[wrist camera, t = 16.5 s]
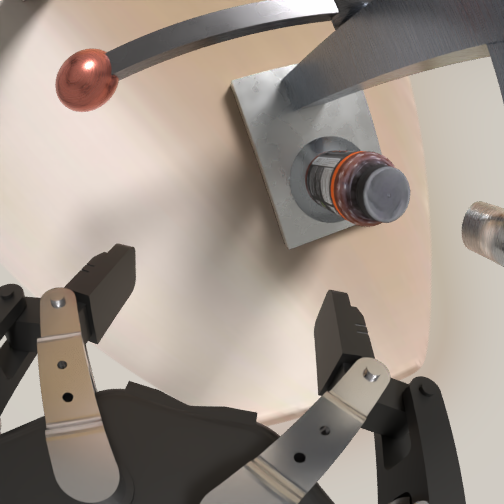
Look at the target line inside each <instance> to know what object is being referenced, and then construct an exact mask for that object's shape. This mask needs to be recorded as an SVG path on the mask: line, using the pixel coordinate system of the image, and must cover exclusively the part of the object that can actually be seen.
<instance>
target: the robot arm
mask: <svg viewBox="0 0 504 504" xmlns="http://www.w3.org/2000/svg"><path fill="white" fill-rule="evenodd" d="M22 1H25V0H22ZM135 281H136V270H135V248H134V247H131V246H127V245H122V244H116V245H115V246H114V247H113V248H112V249H111V250H110V251H109V252H108V253H106V252H103V253H101V254H99V255H97V256H95V257H93V258H92V259H91V260H90V261H89V262H88V263H87V265H85V266H84V267H83V268H82V271H81V270H80V271H79V272H78V273H77V275H76V276H75V277H74V278H73V279H72V280H71V281H70V282H69V283H68V284H67V285H66V286H65V287H64V288H54V289H51V290H49V291H47V292H46V293H44V294H43V295H42V297H41V298H34V297H25V296H24V292H23V289H22V288H21V287H20V286H19V285H16V284H7V285H4V286H1V287H0V340H1V339H2V337H3V336H4V335H5V336H6V338H7V340H6V341H5V343H4V344H3V345H2V347H1V348H0V416H1V414H2V412H3V410H4V408H5V406H6V405H7V403H8V401H9V399H10V398H11V396H12V394H13V392H14V390H15V389H16V387H17V386H18V384H19V382H20V380H21V379H22V377H23V376H24V374H25V372H26V371H27V369H28V367H29V366H30V364H31V363H32V361H33V360H34V358H35V356H36V355H37V353H38V364H39V365H38V366H39V377H40V386H41V394H42V401H43V408H44V415H45V416H43V417H41V418H38V419H36V420H34V421H31V422H29V423H27V424H24V425H22V426H20V427H17V428H15V429H13V430H10V431H8V432H6V433H3V434H1V432H0V504H334V502H333V501H332V500H331V499H330V498H329V496H328V495H327V494H326V493H325V491H324V490H323V489H322V488H321V487H320V486H319V484H318V483H317V481H318V480H319V479H320V478H321V477H322V475H323V474H324V473H325V472H326V471H327V470H328V469H329V467H330V466H331V465H332V464H333V463H334V461H335V460H336V459H337V458H338V456H339V455H340V454H341V453H342V451H343V450H344V449H345V448H346V446H347V445H348V444H349V442H350V441H351V440H352V438H353V437H354V436H355V434H356V433H357V432H358V430H359V429H360V428H363V429H366V430H368V431H371V432H374V438H375V450H376V464H377V465H376V466H377V486H378V504H466V502H465V495H464V488H463V482H462V477H461V472H460V466H459V461H458V457H457V452H456V447H455V443H454V439H453V435H452V430H451V427H450V423H449V419H448V415H447V412H446V408H445V404H444V401H443V398H442V395H441V391H440V389H439V387H438V386H437V385H436V384H435V382H433V381H432V380H430V379H429V378H426V377H416V378H414V379H413V380H412V381H411V382H410V383H409V384H406V383H404V382H401V381H398V380H395V379H393V378H390V373H389V370H388V369H387V367H386V366H385V365H384V364H383V363H381V362H380V361H378V360H376V359H375V357H374V353H373V350H372V346H371V342H370V338H369V335H368V331H367V327H366V324H365V320H364V317H363V315H362V314H361V312H360V311H359V310H358V309H357V307H352V306H351V305H350V301H349V297H348V294H347V293H344V292H339V291H334V290H329V291H328V292H327V294H326V297H325V299H324V302H323V304H322V307H321V309H320V312H319V314H318V317H317V319H316V322H315V328H314V338H315V351H316V365H317V380H318V395H320V396H321V397H320V398H319V399H318V401H317V402H316V403H315V404H314V405H313V406H312V407H311V408H310V409H309V410H308V411H307V412H306V413H305V414H304V415H303V416H302V417H301V418H300V419H299V420H297V422H295V423H294V424H293V425H292V426H291V427H290V428H289V429H288V430H287V431H286V432H285V433H284V434H283V435H282V436H281V437H280V436H279V435H278V434H277V433H276V432H274V431H273V430H271V429H270V428H268V427H266V426H264V425H263V424H261V423H258V422H256V419H257V413H256V412H250V411H245V410H239V409H234V408H229V407H207V406H189V405H186V404H184V403H182V402H180V401H178V400H176V399H174V398H173V397H171V396H169V395H167V394H165V393H163V392H161V391H159V390H157V389H153V388H150V387H147V386H143V385H140V384H137V383H134V382H130V381H129V382H128V384H127V386H126V389H108V390H103V391H99V392H97V389H96V385H95V381H94V378H93V374H92V370H91V365H90V361H89V357H88V352H87V348H86V343H87V341H90V342H93V343H95V344H98V343H99V342H100V340H101V338H102V337H103V335H104V334H105V332H106V331H107V329H108V328H109V326H110V325H111V323H112V322H113V320H114V319H115V317H116V315H117V314H118V312H119V311H120V310H121V308H122V307H123V305H124V304H125V302H126V301H127V299H128V298H129V296H130V295H131V293H132V292H133V289H134V286H135ZM0 430H1V419H0Z"/></svg>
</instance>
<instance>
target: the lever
mask: <svg viewBox="0 0 504 504" xmlns="http://www.w3.org/2000/svg"><path fill="white" fill-rule="evenodd" d="M371 1H373V0H266V1H261V2H256V3H251V4H246V5H241V6H237V7H232V8H228V9H224V10H220V11H217V12H213V13H209V14H206V15H202V16H199V17H196V18H192V19H189V20H186V21H183V22H180V23H177V24H174V25H171V26H168V27H166V28H163V29H160V30H158V31H155V32H152V33H150V34H147V35H145V36H142V37H140V38H138V39H135V40H133V41H131V42H128V43H126V44H124V45H122V46H120V47H117V48H115V49H113V50H111V51H109V52H105V51H102V50H99V49H85V50H81V51H79V52H77V53H75V54H73V55H72V56H70V57H69V58H68V59H67V60H66V61H65V62H64V63H63V65H62V66H61V68H60V69H59V72H58V74H57V77H56V84H55V85H56V93H57V96H58V98H59V100H60V101H61V102H62V104H63V105H65V106H66V107H67V108H69V109H71V110H73V111H78V112H87V111H92V110H95V109H97V108H99V107H101V106H102V105H104V104H105V103H106V102H107V101H108V100H109V99H110V98H111V97H112V95H113V94H114V92H115V90H116V88H117V85H118V81H119V80H121V79H123V78H126V77H128V76H130V75H132V74H134V73H137V72H139V71H141V70H144V69H146V68H149V67H151V66H153V65H156V64H158V63H161V62H163V61H166V60H169V59H171V58H174V57H177V56H180V55H182V54H185V53H188V52H191V51H194V50H197V49H200V48H203V47H206V46H210V45H213V44H216V43H220V42H223V41H227V40H231V39H234V38H238V37H242V36H246V35H250V34H254V33H259V32H263V31H268V30H273V29H278V28H283V27H289V26H295V25H301V24H308V23H315V22H323V21H332V23H333V26H334V28H335V30H337V29H338V28H339V27H340V26H342V25H343V24H344V23H345V22H346V21H348V20H349V19H350V18H351V17H352V16H354V15H355V14H356V13H357V12H359V11H360V10H361V9H362V8H364V7H365V6H366V5H367V4H369V3H370V2H371Z"/></svg>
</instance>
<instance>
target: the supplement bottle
mask: <svg viewBox="0 0 504 504" xmlns="http://www.w3.org/2000/svg"><path fill="white" fill-rule="evenodd" d="M305 184H306V189H307V192H308V193H309V195H310V197H311V198H312V199H313V200H314V201H315V202H316V203H317V204H318V205H320V206H321V207H323V208H325V209H327V210H329V211H331V212H332V213H334V214H336V215H338V216H340V217H342V218H344V219H345V220H347V221H349V222H351V223H353V224H356V225H359V226H367V227H370V226H375V225H378V224H381V223H389V222H392V221H395V220H397V219H398V218H399V217H400V216H401V215H402V214H403V213H404V212H405V210H406V208H407V207H408V204H409V200H410V187H409V183H408V181H407V179H406V177H405V176H404V174H403V173H402V172H401V171H400V170H398V169H396V168H395V166H394V165H393V164H392V162H391V161H390V160H389V159H388V158H386V157H384V156H383V155H381V154H378V153H375V152H369V151H340V150H334V151H326V152H323V153H321V154H319V155H317V156H316V157H315V158H314V159H313V160H312V161H311V163H310V164H309V166H308V168H307V171H306V175H305Z"/></svg>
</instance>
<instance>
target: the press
mask: <svg viewBox="0 0 504 504" xmlns="http://www.w3.org/2000/svg"><path fill="white" fill-rule="evenodd" d="M490 56H491V59H492V62H493V66H494V69H495V72H496V76H497V79H498V83H499V86H500V90H501V94H502V98H503V102H504V0H373V1H371V2H370V3H369V4H367V5H366V6H365V7H364V8H362V9H361V10H360V11H359V12H357V13H356V14H355V15H354V16H352V17H351V18H350V19H349V20H348V21H346V22H345V23H344V24H343V25H342V26H340V27H339V28H338V29H337V30H336V31H335V32H333V33H332V34H331V35H330V36H329V37H328V38H326V39H325V40H324V41H323V42H322V43H321V44H320V45H318V46H317V47H316V48H315V49H314V50H313V51H312V52H311V53H310V54H309V55H307V56H306V57H305V58H304V59H303V60H302V61H301V62H300V63H299V64H294V65H290V66H285V67H281V68H277V69H273V70H269V71H265V72H261V73H257V74H253V75H250V76H246V77H243V78H239V79H236V80H233V81H231V84H230V86H231V88H232V91H233V94H234V97H235V99H236V102H237V105H238V108H239V111H240V113H241V116H242V119H243V122H244V125H245V127H246V130H247V133H248V136H249V139H250V142H251V144H252V147H253V150H254V153H255V156H256V159H257V162H258V165H259V168H260V171H261V174H262V177H263V179H264V182H265V185H266V188H267V191H268V194H269V197H270V200H271V204H272V207H273V210H274V213H275V216H276V219H277V222H278V225H279V228H280V231H281V234H282V237H283V241H284V244H285V245H286V246H287V248H288V249H292V248H295V247H298V246H300V245H303V244H306V243H308V242H311V241H314V240H316V239H319V238H322V237H324V236H327V235H330V234H332V233H335V232H338V231H340V230H343V229H346V228H348V227H351V226H354V225H356V224H353V223H351V222H349V221H347V220H345V219H344V218H342V217H340V216H338V215H336V214H334V213H332V212H331V211H329V210H327V209H325V208H323V207H321V206H320V205H318V204H317V203H316V202H315V201H314V200H313V199H312V198H311V197H310V195H309V193H308V192H307V189H306V184H305V175H306V171H307V168H308V166H309V164H310V163H311V161H312V160H313V159H314V158H315V157H316V156H317V155H319V154H321V153H323V152H326V151H334V150H340V151H369V152H375V153H378V154H381V150H380V146H379V142H378V138H377V135H376V131H375V128H374V124H373V121H372V117H371V114H370V111H369V107H368V104H367V101H366V98H365V95H364V92H363V90H364V89H367V88H370V87H373V86H376V85H379V84H382V83H386V82H389V81H392V80H395V79H399V78H402V77H405V76H409V75H412V74H416V73H419V72H423V71H427V70H431V69H435V68H439V67H443V66H447V65H451V64H455V63H460V62H464V61H469V60H474V59H478V58H484V57H490ZM381 155H382V154H381ZM462 239H463V242H464V244H465V246H466V247H467V248H468V249H470V250H471V251H474V252H476V253H478V254H480V255H482V256H484V257H486V258H488V259H490V260H492V261H494V262H495V263H497V264H499V265H501V266H503V267H504V208H501V207H498V206H495V205H491V204H488V203H485V202H481V201H479V202H475V203H474V204H472V205H471V206H470V208H469V209H468V210H467V212H466V214H465V217H464V220H463V224H462Z"/></svg>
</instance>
